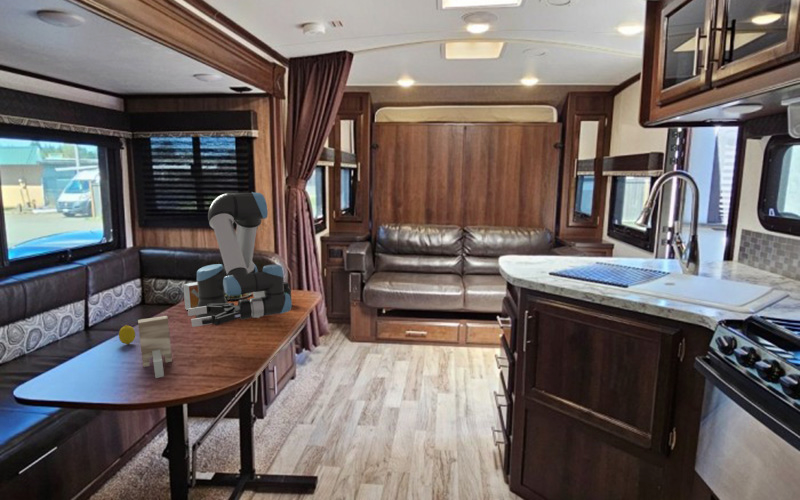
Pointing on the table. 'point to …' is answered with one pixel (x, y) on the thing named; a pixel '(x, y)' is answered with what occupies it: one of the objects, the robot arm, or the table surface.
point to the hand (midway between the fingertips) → (189, 317)
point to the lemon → (126, 334)
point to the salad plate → (236, 297)
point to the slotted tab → (154, 338)
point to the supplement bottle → (287, 289)
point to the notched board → (158, 363)
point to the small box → (191, 295)
